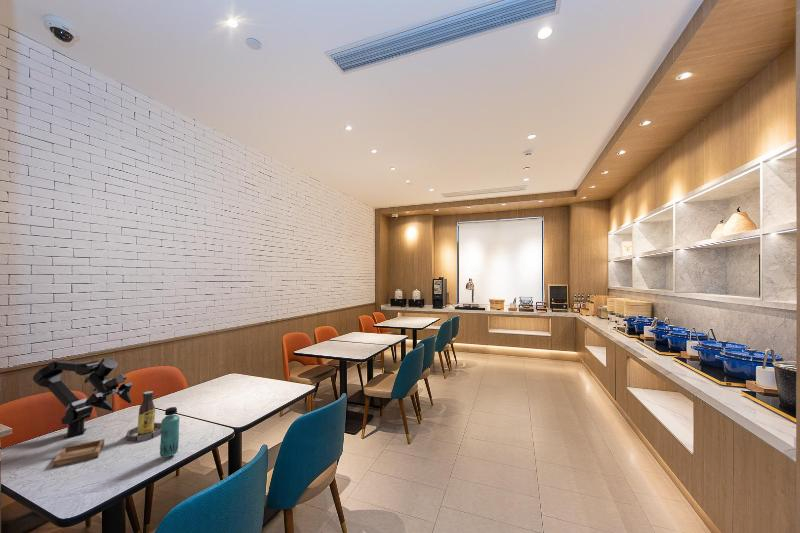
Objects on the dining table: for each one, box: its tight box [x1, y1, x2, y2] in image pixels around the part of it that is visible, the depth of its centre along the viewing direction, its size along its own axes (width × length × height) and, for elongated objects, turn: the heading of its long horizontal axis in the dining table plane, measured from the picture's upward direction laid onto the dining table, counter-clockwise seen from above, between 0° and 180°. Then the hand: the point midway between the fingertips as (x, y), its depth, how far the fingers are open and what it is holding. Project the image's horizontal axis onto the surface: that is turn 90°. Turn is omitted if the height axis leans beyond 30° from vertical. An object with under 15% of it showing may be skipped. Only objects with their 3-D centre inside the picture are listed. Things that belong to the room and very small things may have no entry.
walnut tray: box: [52, 438, 105, 469], centre depth 133 cm, size 13×13×2 cm
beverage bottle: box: [159, 406, 181, 458], centre depth 133 cm, size 6×7×20 cm
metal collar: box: [125, 421, 162, 443], centre depth 152 cm, size 14×14×2 cm
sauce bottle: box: [136, 390, 156, 436], centre depth 152 cm, size 7×6×20 cm
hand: (121, 406), depth 150 cm, fingers open, 9 cm apart
